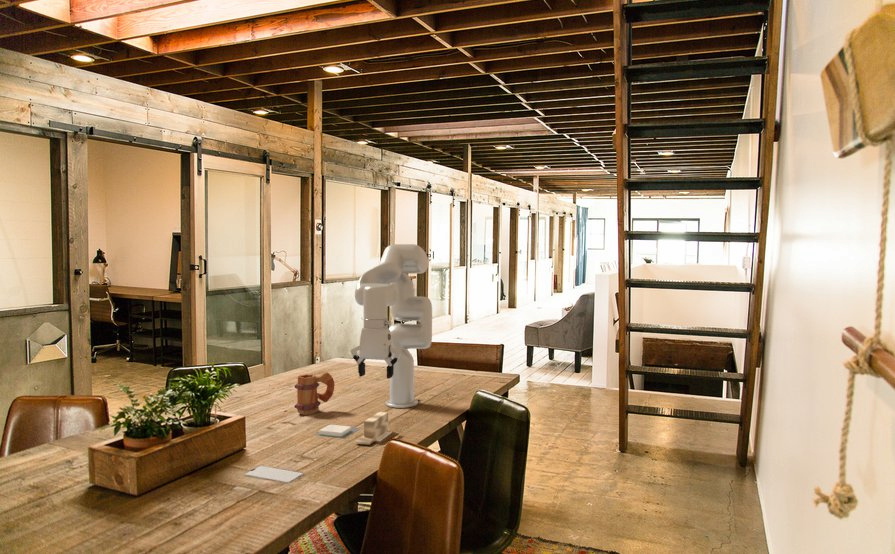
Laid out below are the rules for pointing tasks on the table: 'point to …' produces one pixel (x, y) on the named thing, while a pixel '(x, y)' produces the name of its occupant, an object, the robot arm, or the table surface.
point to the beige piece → (374, 428)
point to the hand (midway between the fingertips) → (375, 376)
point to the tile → (335, 430)
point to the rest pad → (383, 436)
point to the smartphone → (273, 474)
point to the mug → (312, 392)
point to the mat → (353, 429)
